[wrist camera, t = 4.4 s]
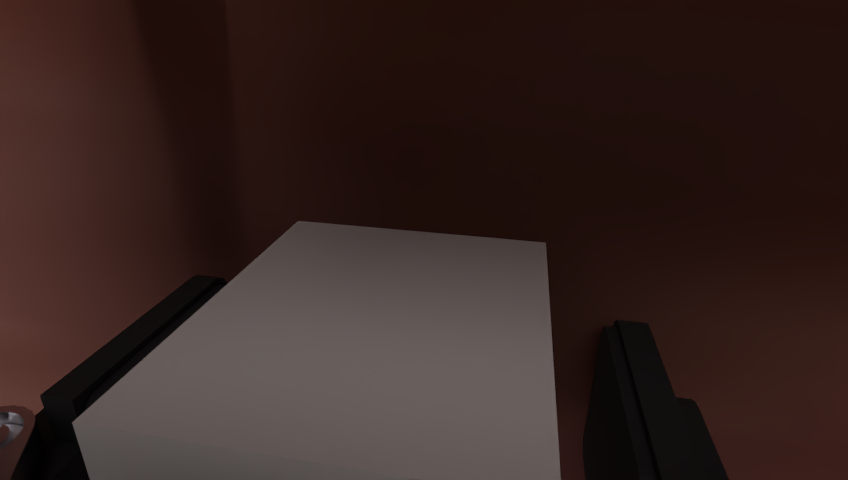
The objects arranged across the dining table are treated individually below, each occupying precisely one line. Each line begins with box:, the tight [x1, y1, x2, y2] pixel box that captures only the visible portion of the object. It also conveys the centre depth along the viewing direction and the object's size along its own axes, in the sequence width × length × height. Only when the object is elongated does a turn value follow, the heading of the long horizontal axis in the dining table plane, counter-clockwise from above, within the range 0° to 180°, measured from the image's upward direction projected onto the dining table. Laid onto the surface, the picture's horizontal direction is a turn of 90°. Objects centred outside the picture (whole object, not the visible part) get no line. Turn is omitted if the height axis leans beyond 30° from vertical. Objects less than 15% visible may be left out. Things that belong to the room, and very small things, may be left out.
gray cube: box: [72, 221, 561, 480], centre depth 9 cm, size 5×5×6 cm
